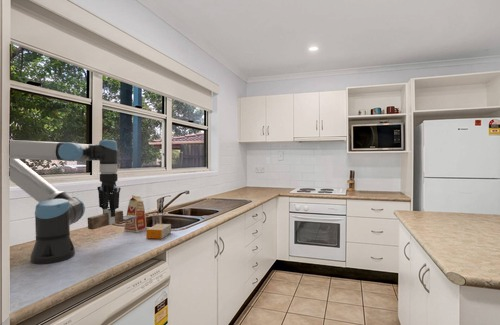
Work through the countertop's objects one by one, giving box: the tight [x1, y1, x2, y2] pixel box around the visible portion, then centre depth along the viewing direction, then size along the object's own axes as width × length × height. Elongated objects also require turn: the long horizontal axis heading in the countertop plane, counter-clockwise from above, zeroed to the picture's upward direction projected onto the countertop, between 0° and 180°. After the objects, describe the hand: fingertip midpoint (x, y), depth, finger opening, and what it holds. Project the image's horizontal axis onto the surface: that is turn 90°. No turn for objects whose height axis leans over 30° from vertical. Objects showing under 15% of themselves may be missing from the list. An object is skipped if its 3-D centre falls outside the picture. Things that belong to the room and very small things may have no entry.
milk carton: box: [123, 195, 148, 233], centre depth 166 cm, size 9×9×20 cm
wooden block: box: [87, 209, 137, 231], centre depth 138 cm, size 23×6×5 cm, turn 152°
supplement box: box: [145, 223, 172, 240], centre depth 153 cm, size 8×5×13 cm
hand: (109, 223), depth 136 cm, fingers closed on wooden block, 3 cm apart
